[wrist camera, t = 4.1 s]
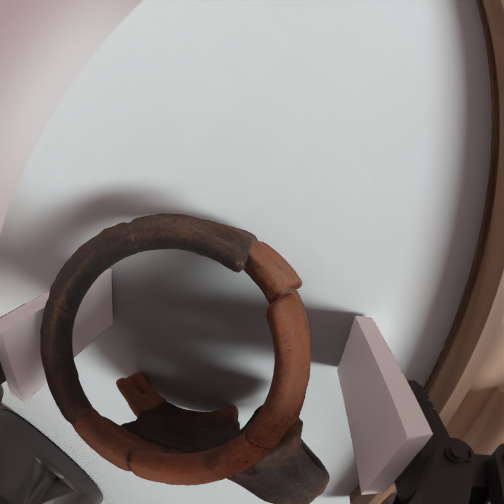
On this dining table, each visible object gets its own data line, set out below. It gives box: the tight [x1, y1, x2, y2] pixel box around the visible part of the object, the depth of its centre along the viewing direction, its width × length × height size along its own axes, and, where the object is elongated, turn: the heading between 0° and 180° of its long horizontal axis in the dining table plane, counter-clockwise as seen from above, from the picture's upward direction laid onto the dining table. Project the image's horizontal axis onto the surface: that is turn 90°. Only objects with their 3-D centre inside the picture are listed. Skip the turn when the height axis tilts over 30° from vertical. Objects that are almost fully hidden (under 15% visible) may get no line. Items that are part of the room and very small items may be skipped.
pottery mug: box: [40, 214, 329, 504], centre depth 10 cm, size 12×10×8 cm
